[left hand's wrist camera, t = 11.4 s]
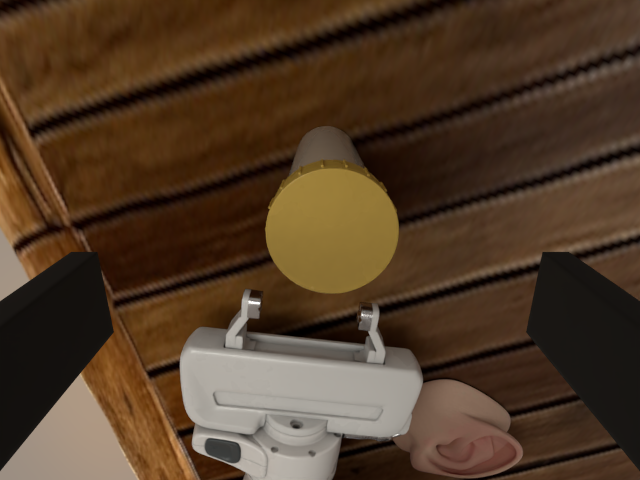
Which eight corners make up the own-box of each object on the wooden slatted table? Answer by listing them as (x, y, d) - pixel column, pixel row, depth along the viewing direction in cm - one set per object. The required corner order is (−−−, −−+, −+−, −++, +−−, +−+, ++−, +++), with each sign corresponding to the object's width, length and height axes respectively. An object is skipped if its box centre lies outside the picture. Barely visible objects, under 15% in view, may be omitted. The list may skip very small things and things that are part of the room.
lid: (406, 171, 19) (416, 181, 17) (375, 285, 21) (381, 305, 19) (280, 145, 18) (276, 153, 16) (261, 264, 20) (255, 282, 18)
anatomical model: (367, 448, 42) (456, 381, 39) (363, 418, 46) (444, 355, 43) (452, 513, 45) (541, 455, 42) (442, 480, 49) (523, 425, 46)
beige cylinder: (361, 132, 35) (403, 186, 17) (348, 190, 37) (374, 291, 19) (302, 120, 35) (284, 162, 17) (292, 179, 36) (265, 272, 19)
